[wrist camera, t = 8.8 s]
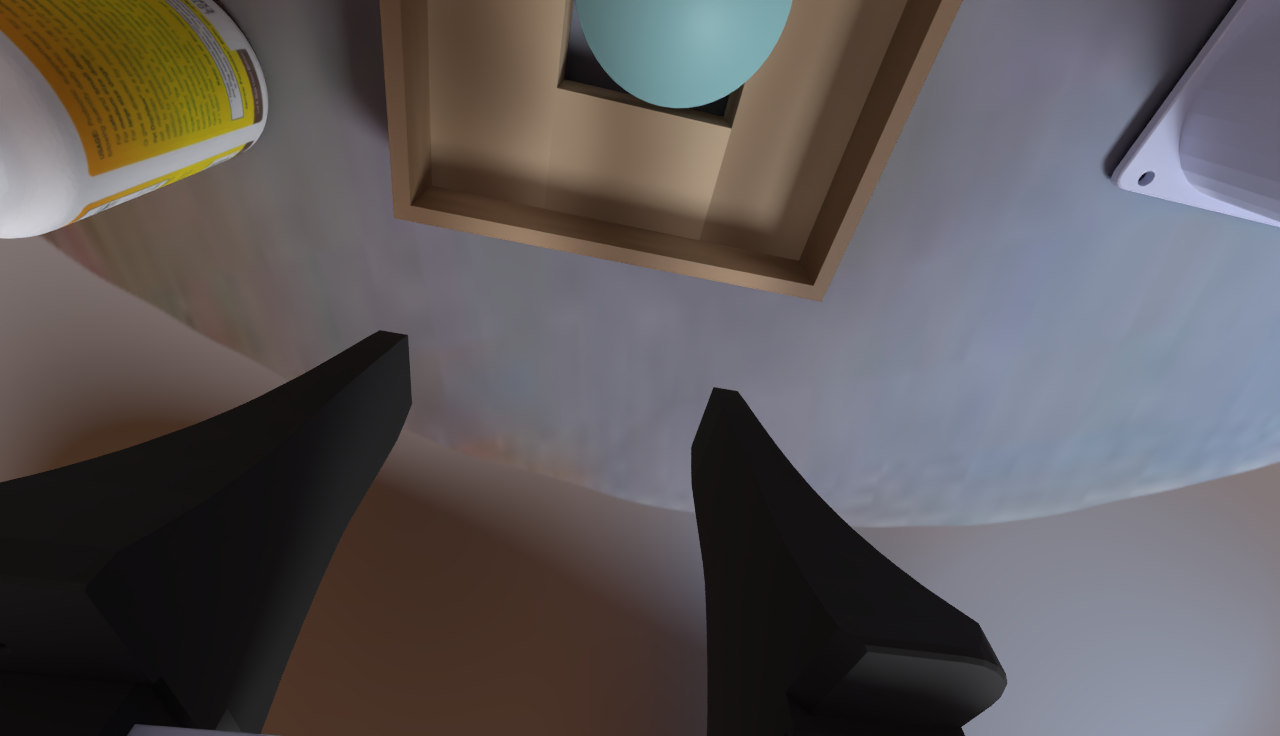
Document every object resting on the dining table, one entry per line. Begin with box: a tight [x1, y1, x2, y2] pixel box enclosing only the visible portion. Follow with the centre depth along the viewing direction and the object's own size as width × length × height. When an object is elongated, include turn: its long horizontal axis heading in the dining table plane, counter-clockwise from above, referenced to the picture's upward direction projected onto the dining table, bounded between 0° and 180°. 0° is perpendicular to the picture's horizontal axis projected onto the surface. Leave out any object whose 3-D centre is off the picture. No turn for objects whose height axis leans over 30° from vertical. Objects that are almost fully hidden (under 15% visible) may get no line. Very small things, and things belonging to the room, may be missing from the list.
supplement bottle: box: [0, 0, 268, 238], centre depth 13 cm, size 6×6×10 cm
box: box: [379, 0, 963, 302], centre depth 14 cm, size 14×14×4 cm
